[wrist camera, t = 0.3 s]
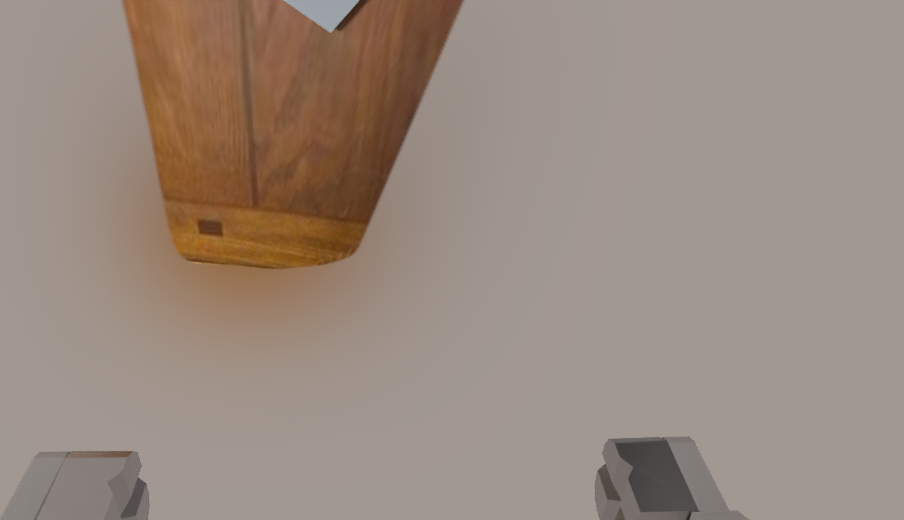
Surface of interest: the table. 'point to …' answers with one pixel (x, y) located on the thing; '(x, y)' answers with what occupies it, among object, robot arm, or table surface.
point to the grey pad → (324, 10)
